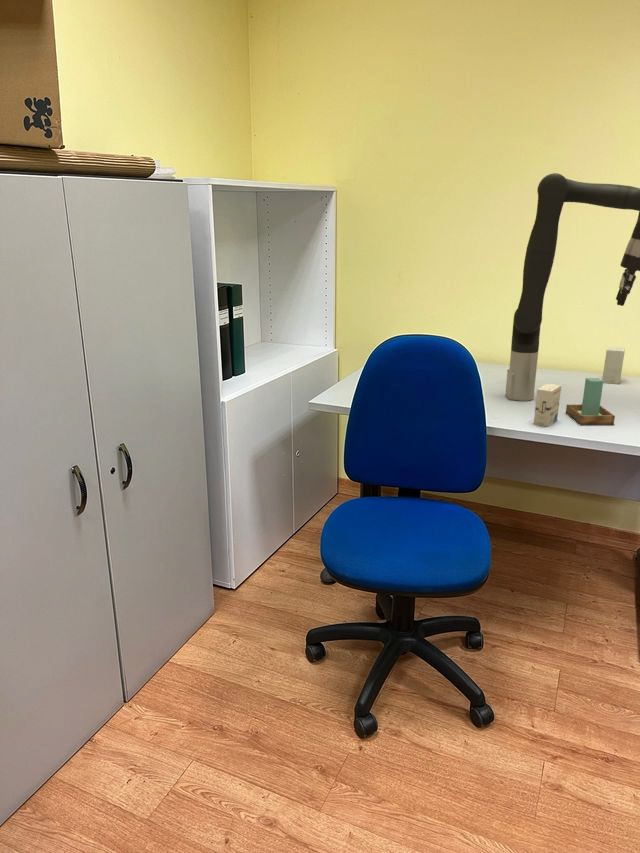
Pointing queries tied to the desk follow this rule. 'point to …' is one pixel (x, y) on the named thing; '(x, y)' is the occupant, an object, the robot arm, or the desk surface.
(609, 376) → the small box
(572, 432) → the desk surface
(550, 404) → the ink box
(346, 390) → the desk surface
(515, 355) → the robot arm
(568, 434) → the desk surface
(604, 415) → the tray
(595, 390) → the teal block
